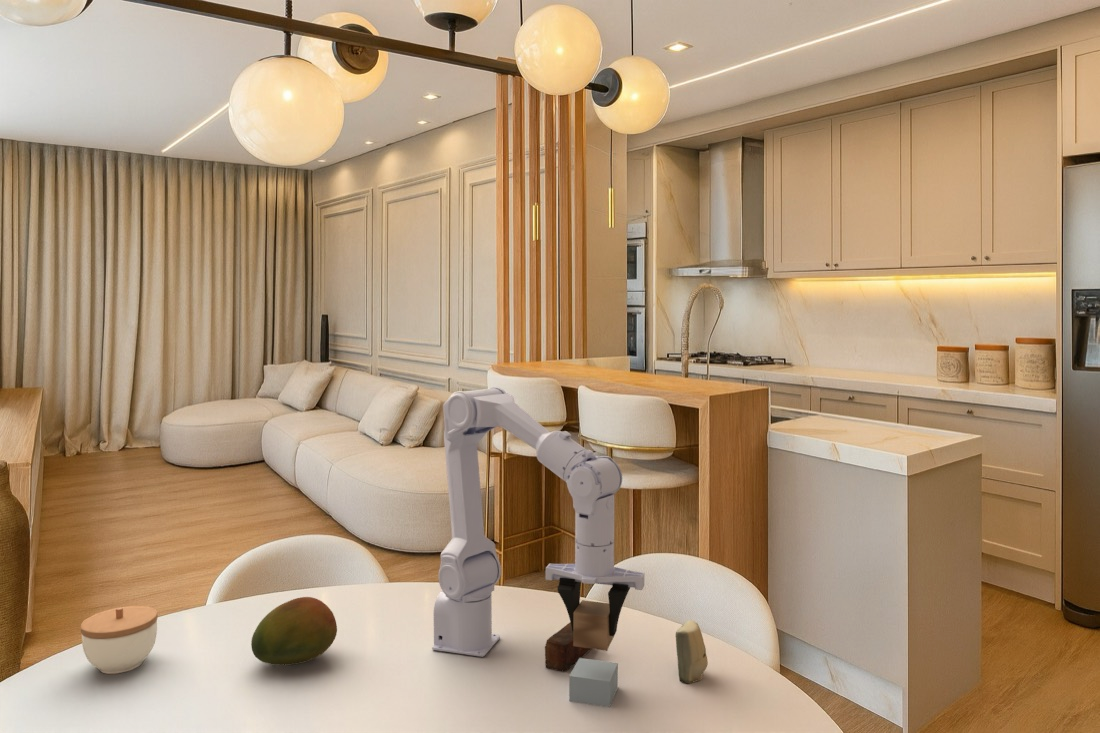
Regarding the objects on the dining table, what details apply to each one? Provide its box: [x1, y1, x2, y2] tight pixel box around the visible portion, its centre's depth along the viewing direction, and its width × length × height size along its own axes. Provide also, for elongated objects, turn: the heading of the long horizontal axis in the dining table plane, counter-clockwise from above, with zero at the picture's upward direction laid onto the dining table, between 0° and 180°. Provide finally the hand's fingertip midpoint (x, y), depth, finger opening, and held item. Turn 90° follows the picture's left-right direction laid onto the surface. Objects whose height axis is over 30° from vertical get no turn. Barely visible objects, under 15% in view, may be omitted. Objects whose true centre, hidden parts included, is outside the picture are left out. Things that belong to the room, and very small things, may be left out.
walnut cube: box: [573, 599, 615, 652], centre depth 111 cm, size 5×5×5 cm
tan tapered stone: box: [675, 619, 708, 684], centre depth 117 cm, size 6×5×8 cm
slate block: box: [568, 657, 619, 708], centre depth 112 cm, size 6×6×4 cm
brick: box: [544, 621, 592, 673], centre depth 124 cm, size 11×4×5 cm, turn 152°
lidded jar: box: [79, 605, 159, 675], centre depth 121 cm, size 11×11×9 cm
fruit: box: [250, 596, 338, 666], centre depth 122 cm, size 12×13×10 cm
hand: (594, 630), depth 111 cm, fingers closed on walnut cube, 5 cm apart
